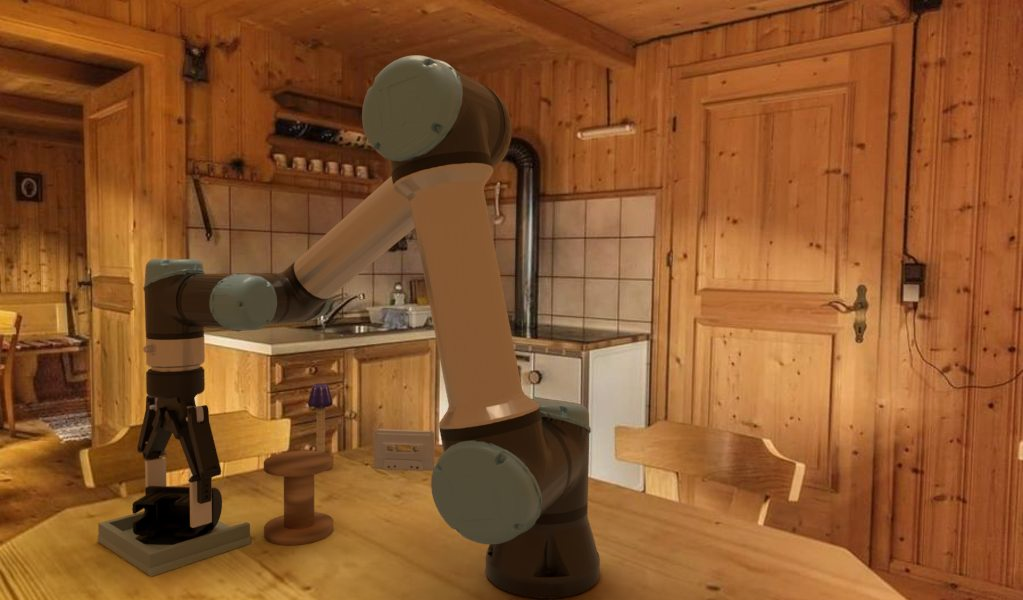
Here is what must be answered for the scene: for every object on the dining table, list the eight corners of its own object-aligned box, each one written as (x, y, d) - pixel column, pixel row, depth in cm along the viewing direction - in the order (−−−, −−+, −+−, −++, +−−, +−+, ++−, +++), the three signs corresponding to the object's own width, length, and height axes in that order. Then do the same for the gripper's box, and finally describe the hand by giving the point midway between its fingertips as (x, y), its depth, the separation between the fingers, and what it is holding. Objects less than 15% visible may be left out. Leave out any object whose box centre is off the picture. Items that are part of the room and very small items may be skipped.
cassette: (372, 469, 136) (372, 430, 136) (375, 466, 138) (375, 428, 138) (433, 471, 136) (433, 432, 135) (434, 468, 137) (435, 430, 137)
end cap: (223, 526, 104) (222, 481, 103) (200, 545, 96) (199, 498, 96) (157, 524, 104) (156, 480, 104) (129, 543, 97) (129, 496, 96)
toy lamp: (335, 470, 135) (335, 385, 134) (311, 473, 133) (311, 387, 132) (328, 463, 139) (328, 381, 138) (305, 467, 137) (304, 383, 136)
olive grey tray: (251, 543, 100) (251, 524, 100) (151, 576, 89) (150, 555, 89) (193, 514, 111) (193, 497, 111) (97, 541, 100) (97, 522, 100)
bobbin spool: (347, 530, 105) (347, 459, 105) (289, 551, 98) (288, 474, 97) (307, 514, 112) (307, 447, 111) (250, 532, 104) (250, 460, 103)
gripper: (111, 360, 104) (113, 499, 105) (192, 380, 88) (194, 543, 89) (162, 355, 110) (164, 487, 111) (247, 373, 94) (248, 526, 95)
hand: (177, 512), depth 100 cm, fingers open, 13 cm apart
